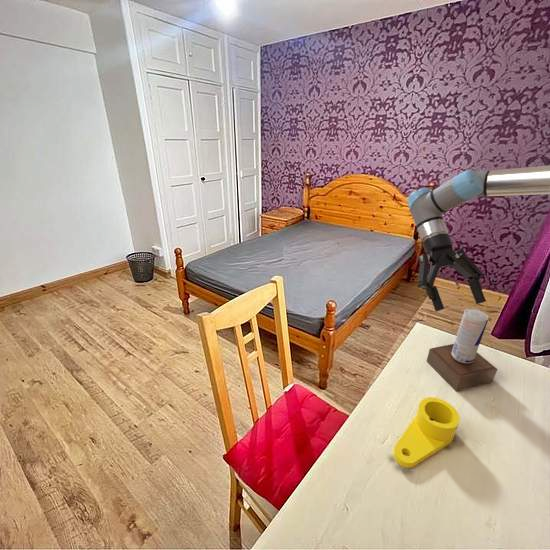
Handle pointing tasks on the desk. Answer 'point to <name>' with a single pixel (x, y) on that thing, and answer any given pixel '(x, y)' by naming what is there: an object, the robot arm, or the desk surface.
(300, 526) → the desk surface
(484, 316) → the beverage can
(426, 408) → the crank
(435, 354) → the block
